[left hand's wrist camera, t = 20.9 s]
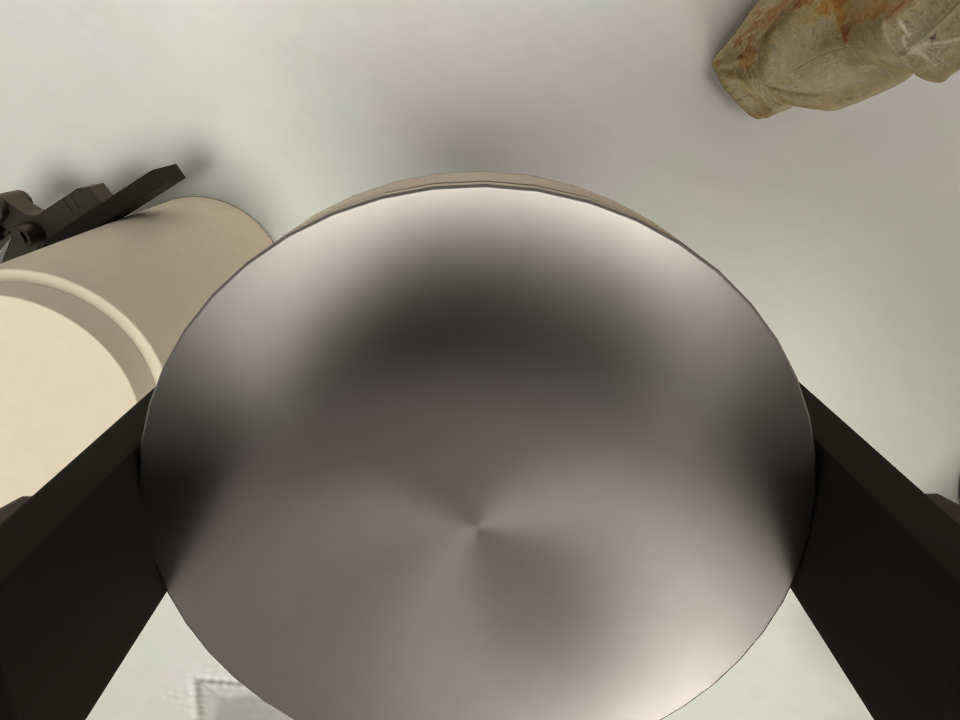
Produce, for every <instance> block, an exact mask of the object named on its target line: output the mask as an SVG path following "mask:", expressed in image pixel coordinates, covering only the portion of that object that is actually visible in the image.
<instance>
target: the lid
mask: <svg viewBox="0 0 960 720" xmlns="http://www.w3.org/2000/svg"><path fill="white" fill-rule="evenodd" d="M139 488H140V493H141V499H142V504H143V509H144V514H145V519H146V523H147V528H148V533H149V538H150V542H151V547H152V552H153V556H154V560H155V564H156V567H157V569H158V571H159V574H160V576H161V578H162V581H163V583H164V585H165V588H166V590H167V592H168V594H169V596H170V597H171V599H172V601H173V602H174V604H175V606H176V607H177V609H178V611H179V612H180V614H181V616H182V617H183V619H184V621H185V622H186V624H187V625H188V626H189V628H190V629H191V630H192V631H193V633H194V634H195V635H196V637H197V638H198V639H199V640H200V642H201V643H202V644H203V645H204V647H205V648H206V649H207V650H208V652H209V653H210V654H211V655H212V656H213V657H214V658H215V659H216V660H217V661H218V662H219V663H220V664H221V665H222V666H223V667H224V668H225V669H226V670H227V671H228V672H229V673H230V674H231V675H232V676H233V677H234V678H235V679H237V680H238V681H239V682H241V683H242V684H243V685H244V686H246V687H247V688H248V689H249V690H251V691H252V692H253V693H255V694H256V695H257V696H258V697H260V698H261V699H262V700H263V701H265V702H267V703H268V704H270V705H271V706H273V707H275V708H276V709H278V710H279V711H281V712H283V713H284V714H286V715H288V716H289V717H291V718H292V719H294V720H661V719H663V718H665V717H666V716H668V715H670V714H672V713H673V712H675V711H677V710H679V709H680V708H682V707H684V706H685V705H686V704H688V703H689V702H690V701H692V700H693V699H695V698H696V697H697V696H699V695H700V694H701V693H703V692H704V691H705V690H707V689H708V688H710V687H711V686H712V685H713V684H714V683H716V682H717V681H718V680H719V679H720V678H721V677H722V676H723V675H724V674H725V673H726V672H727V671H729V670H730V669H731V668H732V667H733V666H734V665H735V664H736V663H737V662H738V661H739V660H740V659H741V658H742V657H743V656H744V654H745V653H746V652H747V651H748V650H749V649H750V647H751V646H752V645H753V644H754V643H755V642H756V640H757V639H758V638H759V637H760V636H761V634H762V633H763V632H764V630H765V629H766V627H767V626H768V624H769V623H770V621H771V620H772V618H773V617H774V615H775V614H776V612H777V610H778V609H779V607H780V606H781V604H782V603H783V601H784V599H785V597H786V595H787V593H788V591H789V588H790V586H791V584H792V582H793V580H794V578H795V576H796V574H797V572H798V569H799V567H800V564H801V560H802V557H803V554H804V551H805V548H806V544H807V541H808V538H809V535H810V530H811V524H812V517H813V511H814V504H815V498H816V453H815V447H814V441H813V434H812V428H811V421H810V416H809V413H808V410H807V407H806V403H805V400H804V397H803V394H802V391H801V388H800V385H799V382H798V379H797V376H796V374H795V372H794V370H793V369H792V367H791V365H790V363H789V361H788V359H787V357H786V355H785V353H784V351H783V349H782V347H781V345H780V343H779V341H778V339H777V338H776V336H775V335H774V334H773V332H772V331H771V330H770V328H769V327H768V325H767V324H766V323H765V321H764V320H763V319H762V317H761V316H760V314H759V313H758V312H757V310H756V309H755V307H754V306H753V305H752V303H751V302H750V301H749V300H748V299H747V298H746V297H745V296H744V295H743V294H742V293H741V292H740V291H739V290H738V289H737V288H736V287H735V286H734V285H733V284H732V283H731V282H730V281H729V280H728V279H727V278H726V277H725V276H724V275H723V274H722V273H721V272H720V271H719V270H718V269H716V268H715V267H714V266H712V265H711V264H710V263H708V262H707V261H706V260H704V259H703V258H702V257H700V256H699V255H698V254H696V253H695V252H694V251H692V250H691V249H690V248H688V247H687V246H686V245H684V244H683V243H682V242H680V241H679V240H677V239H676V238H675V237H673V236H672V235H670V234H669V233H668V232H666V231H665V230H663V229H662V228H661V227H659V226H658V225H656V224H655V223H654V222H652V221H650V220H648V219H647V218H645V217H643V216H641V215H639V214H638V213H636V212H634V211H632V210H630V209H628V208H627V207H625V206H623V205H621V204H619V203H617V202H616V201H614V200H611V199H608V198H606V197H603V196H600V195H598V194H595V193H592V192H590V191H587V190H584V189H582V188H579V187H576V186H574V185H570V184H565V183H561V182H557V181H552V180H548V179H543V178H539V177H535V176H530V175H520V174H509V173H497V172H486V171H482V172H461V173H440V174H434V175H429V176H423V177H418V178H413V179H407V180H402V181H396V182H393V183H390V184H387V185H384V186H381V187H378V188H375V189H372V190H369V191H366V192H363V193H360V194H357V195H354V196H351V197H349V198H347V199H345V200H343V201H341V202H339V203H337V204H335V205H333V206H331V207H329V208H327V209H325V210H323V211H321V212H319V213H317V214H315V215H313V216H312V217H311V218H309V219H308V220H306V221H305V222H303V223H302V224H300V225H299V226H297V227H296V228H294V229H293V230H292V231H290V232H289V233H287V234H286V235H284V236H283V237H281V238H280V239H278V240H277V241H276V242H274V243H273V244H271V245H270V246H268V247H267V248H266V249H264V250H263V251H261V252H260V253H258V254H257V255H256V256H254V257H253V258H251V259H250V260H248V261H247V262H246V263H245V264H244V265H243V266H242V267H241V268H239V269H238V270H237V271H236V272H235V273H234V274H233V275H232V276H231V277H230V278H229V279H228V280H226V281H225V282H224V283H223V284H222V285H221V286H220V287H219V288H218V289H217V290H216V291H215V292H214V293H213V294H212V295H211V296H210V297H209V299H208V300H207V301H206V302H205V304H204V305H203V306H202V307H201V309H200V310H199V311H198V312H197V314H196V315H195V316H194V317H193V319H192V320H191V321H190V322H189V324H188V325H187V326H186V327H185V329H184V331H183V332H182V334H181V336H180V338H179V339H178V341H177V343H176V345H175V346H174V348H173V350H172V352H171V353H170V355H169V357H168V359H167V360H166V362H165V364H164V366H163V368H162V371H161V374H160V376H159V379H158V382H157V384H156V387H155V390H154V392H153V395H152V398H151V400H150V403H149V406H148V411H147V416H146V421H145V426H144V431H143V436H142V441H141V450H140V473H139Z"/></svg>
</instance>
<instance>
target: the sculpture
mask: <svg viewBox="0 0 960 720" xmlns="http://www.w3.org/2000/svg"><path fill="white" fill-rule="evenodd" d="M712 65H713V68H714V70H715V71H716V73H717V74H718V79H719V81H720V82H721V84H722V85H723V87H724V88H725V89H726V90H727V92H728V93H729V94H730V95H731V97H732V98H733V99H734V100H735V101H736V102H737V103H738V104H739V106H740V107H742V108H743V109H744V110H745V111H746V112H747V113H748V114H749V115H751V116H752V117H754V118H756V119H761V118H767V117H770V116H772V115H775V114H777V113H780V112H782V111H784V110H787V109H789V108H790V107H792V106H798V107H804V108H810V109H817V110H824V111H834V110H838V109H842V108H845V107H847V106H850V105H852V104H855V103H857V102H860V101H862V100H865V99H867V98H869V97H872V96H874V95H876V94H879V93H881V92H883V91H886V90H888V89H890V88H892V87H894V86H896V85H898V84H900V83H902V82H903V81H905V80H906V79H908V78H909V77H910V76H911V75H912V74H913V73H914V74H915V75H916V76H918V77H920V78H922V79H924V80H927V81H931V82H935V83H941V82H944V81H945V80H946V79H947V78H948V77H949V76H951V75H952V74H954V73H955V72H957V71H958V70H960V0H758V1H757V3H756V4H755V5H754V7H753V8H752V10H751V11H750V12H749V14H748V15H747V17H746V18H745V20H744V21H743V23H742V24H741V25H740V27H739V28H738V30H737V31H736V33H735V34H734V35H733V37H732V38H731V39H730V40H729V41H728V42H727V44H726V45H725V46H724V48H722V49H721V50H720V51H719V52H718V54H717V55H716V57H715V59H714V60H713V64H712Z"/></svg>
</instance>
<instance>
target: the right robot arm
mask: <svg viewBox="0 0 960 720" xmlns="http://www.w3.org/2000/svg"><path fill="white" fill-rule="evenodd" d="M184 178H186V177H185V176H184V174H183V173H182V172H181V170H180V169H179V167H178V166H177V165H176V164H174V165H170V166H166V167H163V168H159V169H155V170H152V171H150V172H149V173H147V174H146V175H144V176H142V177H141V178H139V179H138V180H136V181H135V182H133V183H132V184H130V185H129V186H127V187H126V188H124V189H122V190H121V191H119V192H118V193H116V194H115V195H112V194H111V192H110V191H109V190H108V188H107V187H106V186H105V184H104V183H101V184H94V185H90V186H86V187H82V188H78V189H76V190H75V191H73V192H72V193H70V194H69V195H67V196H66V197H64V198H62V199H61V200H59V201H58V202H56V203H55V204H53V205H52V206H50V207H49V208H47V209H46V210H43V209H41V208H39V207H37V206H36V205H34V204H33V201H32V199H31V197H30V196H29V195H28V194H27V193H25V192H24V191H20V190H16V191H11V192H6V193H1V194H0V250H1V249H2V247H3V246H4V245H5V244H6V242H7V241H8V240H9V239H10V237H11V240H10V243H9V245H8V248H7V250H6V253H5V256H4V258H3V261H2V263H3V262H6V261H9V260H11V259H14V258H17V257H20V256H22V255H25V254H28V253H30V252H33V251H36V250H38V249H41V248H44V247H46V246H49V245H52V244H55V243H57V242H60V241H63V240H65V239H68V238H71V237H73V236H76V235H79V234H81V233H84V232H87V231H90V230H92V229H95V228H98V227H100V226H103V225H106V224H108V223H111V222H114V221H116V220H119V219H122V218H124V217H125V216H127V215H128V214H130V213H131V212H133V211H135V210H136V209H138V208H139V207H141V206H142V205H144V204H145V203H147V202H149V201H150V200H152V199H153V198H155V197H156V196H158V195H159V194H161V193H163V192H164V191H166V190H167V189H169V188H170V187H172V186H174V185H175V184H177V183H178V182H180V181H181V180H183V179H184Z"/></svg>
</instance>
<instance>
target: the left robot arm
mask: <svg viewBox="0 0 960 720" xmlns="http://www.w3.org/2000/svg"><path fill="white" fill-rule="evenodd" d="M799 385H800V388H801V391H802V394H803V397H804V400H805V403H806V407H807V410H808V413H809V416H810V421H811V428H812V434H813V441H814V447H815V453H816V498H815V504H814V511H813V517H812V524H811V530H810V535H809V538H808V541H807V544H806V548H805V551H804V554H803V557H802V560H801V564H800V567H799V569H798V572H797V574H796V576H795V578H794V580H793V582H792V584H791V586H790V588H791V589H792V591H793V593H794V594H795V596H796V597H797V599H798V600H799V602H800V604H801V605H802V607H803V608H804V610H805V611H806V613H807V615H808V616H809V618H810V619H811V621H812V622H813V624H814V626H815V627H816V629H817V630H818V632H819V634H820V635H821V637H822V638H823V640H824V641H825V643H826V645H827V646H828V648H829V649H830V651H831V652H832V654H833V656H834V657H835V659H836V660H837V662H838V663H839V665H840V667H841V668H842V670H843V671H844V673H845V675H846V676H847V678H848V679H849V681H850V682H851V684H852V686H853V687H854V689H855V690H856V692H857V693H858V695H859V697H860V698H861V700H862V701H863V703H864V704H865V706H866V708H867V709H868V711H869V712H870V714H871V716H872V717H873V719H874V720H960V505H958V504H956V503H954V502H952V501H950V500H949V499H947V498H945V497H943V496H941V495H939V494H924V493H923V492H922V491H921V490H920V489H919V488H918V487H916V486H915V485H914V484H913V483H912V482H911V481H910V480H909V479H907V478H906V477H905V476H904V475H903V474H902V473H901V472H900V471H898V470H897V469H896V468H895V467H894V466H893V465H892V464H891V463H889V462H888V461H887V460H886V459H885V458H884V457H883V456H882V455H880V454H879V453H878V452H877V451H876V450H875V449H874V448H873V447H871V446H870V445H869V444H868V443H867V442H866V441H865V440H864V439H862V438H861V437H860V436H859V435H858V434H857V433H856V432H855V431H853V430H852V429H851V428H850V427H849V426H848V425H847V424H846V423H844V422H843V421H842V420H841V419H840V418H839V417H838V416H837V415H835V414H834V413H833V412H832V411H831V410H830V409H829V408H828V407H826V406H825V405H824V404H823V403H822V402H821V401H820V400H819V399H817V398H816V397H815V396H814V395H813V394H812V393H811V392H810V391H809V390H807V389H806V388H805V387H804V386H803V385H802V384H801V383H800V382H799ZM154 390H155V387H154V388H153V389H152V390H151V391H150V392H149V393H148V394H147V395H145V396H144V397H143V398H142V399H141V400H140V401H139V402H138V403H136V404H135V405H134V406H133V407H132V408H131V409H130V410H129V411H127V412H126V413H125V414H124V415H123V416H122V417H121V418H120V419H118V420H117V421H116V422H115V423H114V424H113V425H112V426H111V427H109V428H108V429H107V430H106V431H105V432H104V433H103V434H102V435H100V436H99V437H98V438H97V439H96V440H95V441H94V442H93V443H91V444H90V445H89V446H88V447H87V448H86V449H85V450H84V451H82V452H81V453H80V454H79V455H78V456H77V457H76V458H75V459H73V460H72V461H71V462H70V463H69V464H68V465H67V466H66V467H64V468H63V469H62V470H61V471H60V472H59V473H58V474H57V475H55V476H54V477H53V478H52V479H51V480H50V481H49V482H48V483H46V484H45V485H44V486H43V487H42V488H41V489H40V490H39V491H37V492H36V493H35V494H34V495H33V496H22V497H20V498H18V499H16V500H14V501H12V502H10V503H9V504H7V505H5V506H3V507H1V508H0V720H86V718H87V716H88V715H89V713H90V712H91V710H92V708H93V707H94V705H95V704H96V702H97V701H98V699H99V697H100V696H101V694H102V693H103V691H104V690H105V688H106V686H107V685H108V683H109V682H110V680H111V679H112V677H113V675H114V674H115V672H116V671H117V669H118V667H119V666H120V664H121V663H122V661H123V660H124V658H125V656H126V655H127V653H128V652H129V650H130V649H131V647H132V645H133V644H134V642H135V641H136V639H137V638H138V636H139V634H140V633H141V631H142V630H143V628H144V627H145V625H146V623H147V622H148V620H149V619H150V617H151V615H152V614H153V612H154V611H155V609H156V608H157V606H158V604H159V603H160V601H161V600H162V598H163V597H164V595H165V593H166V592H167V590H166V588H165V585H164V583H163V581H162V578H161V576H160V574H159V571H158V569H157V567H156V564H155V560H154V556H153V552H152V547H151V542H150V538H149V533H148V528H147V523H146V519H145V514H144V509H143V504H142V499H141V493H140V488H139V473H140V450H141V441H142V436H143V431H144V426H145V421H146V416H147V411H148V406H149V403H150V400H151V398H152V395H153V392H154Z"/></svg>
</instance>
